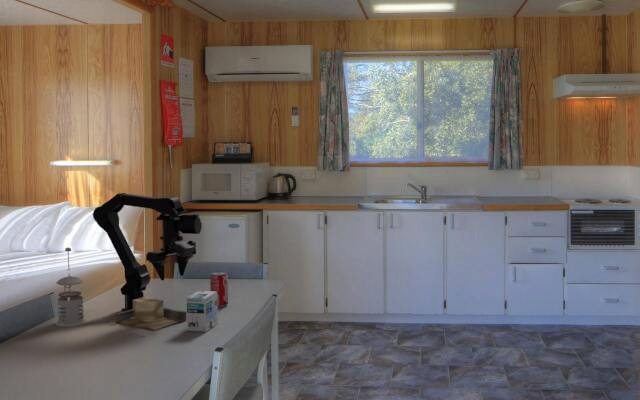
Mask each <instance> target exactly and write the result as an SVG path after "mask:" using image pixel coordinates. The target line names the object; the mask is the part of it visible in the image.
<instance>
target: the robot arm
mask: <svg viewBox="0 0 640 400" xmlns="http://www.w3.org/2000/svg"><path fill="white" fill-rule="evenodd" d="M124 206H129V207H136V208H142V209H151V210H154V211H155V212H157V213H160V214H159V215H158V217H156V219H155V220H156V221H161V222H162V223H161V225H162V227H161V229H162V235H161V236H160V237H159V240H162V247H160V251H159V250H153V251H149V252H147V253H146V254H145V260H146V261H147V262H149V263H150V264H151V265H152V266H153V267H154V270H155V271H156V273H157V275H158V277H159V278H160V280H161V281H165V271H166V269H165V266H166V264H167V263H168V261H167V258H168V257H173V256H176V261H177V266H178V267H177V268H178V272H179V275H180V277H181V276H183V277H184V275H185V271H186V268H187V264H188V263H189V260H191V258H193V257H194V255H197V249H196V248H197V244H196V241H195V240H188V241H184V237H183V235H186V234H187V235H188V234H189V235H199V234H201V231H202V229H203V227H202V225H203V224H202V222H201V218H200V216H199V213H193V214H192V213H191V214H188V212H187V210H186V209H185V208H184V206H183V205H182V202H181V200H180V199H179V197H177V196H175V195H174V196H161V197H160V196H158V197H152V196H148V195H147V196H146V195H145V196H144V195H138V194H132V193H127V192H120V193H116V194H114V196H113V197H112V198H110V199H108V200H107V201H105V202H104V203H103V204H102V205H101V206H97V207H95V208H94V210H93V213H92V217H93V220H94V221H95V223H96V224H97V225H98V227H100V228H101V229H102V230H104V232H105V233H106V234H107V236H108V238H109V241H110V242H111V244H112V246H113V248H114V250H115V252H116V254H117V256H118V258H119V260H120V262H121V264H122V266H123V268H124V279H125V284H124V285H123V286H122V287H121V288H120V290H119V291H120V293H121V295H122V296H124V307H122V308H121V311H123V312H124V311H128V310H131V309H133V300H135V299H138V298H142V297H145V296H144V291H146V290H147V286H149V284H150V283H151V282H150V281H151V276H150V275H151V272H150V271H149V270H148V267H147V265H146V264H145V263H144V264H142V265H141V263H140V262H138V261H137V259H136V257H135V254H134V253H133V250H132V249H131V247H130V245H129V243H128V241H127V239H126V237H125V235H124V233H123V231H122V229H121V227H120V217H119V213H120V212H121V211H122V210H123V208H124ZM180 232H181V234H183V235H180Z"/></svg>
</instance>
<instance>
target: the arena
mask: <svg viewBox="0 0 640 400" xmlns="http://www.w3.org/2000/svg"><path fill="white" fill-rule="evenodd" d="M163 311H164V318H162V319H159V320H156V321H148V320H142V319H137V318H133V309H131V310H128V311H124V310H123V311H122V312H117V313H115V323H116V324H121V325H125V326H131V327H135V328H138V329H139V328H141V329H144V330H149V331H155V332H156V331H159V330H162V329H165V328H168V327H170V326H169V325H171V326H174V325H177V323H178V324H181V323H183V321H184V322H187V321H186V320H187V311H185V310H179V309H174V308H168V307H163ZM180 322H181V323H180ZM173 324H174V325H173ZM167 326H168V327H167ZM164 327H165V328H164ZM161 328H162V329H161Z"/></svg>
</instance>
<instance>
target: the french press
mask: <svg viewBox="0 0 640 400" xmlns="http://www.w3.org/2000/svg"><path fill="white" fill-rule="evenodd" d="M64 251H65V252H67V263H68V264H67V265H68V266H67V267H68V270H70V262H69V261H70V256H69V255H70V254H69V253H70V252H71V251H72V248H71V247H66V248H65V249H64ZM83 281H84V280H83V279H81V278H79V277H76V276H70V274H68V276H66V277H63V278H60V279H59V280H57V281H56V284H57V285H58V286H63V288H64V289H63V292H59V293H58V298H57V318H58V319H57V321H56V322H55V326H57V327H67V328H68V327H75V326H77V327H78V326H81V325H83V324H85V323H87V319H86V318H84V317H85V316H84V299H83V296H81V294H82V292H81V291H79V290H78V291H77V290H76V291H75V290H71V287H72V286H74V285H79V284H82V283H83ZM66 289H69V291H68V290H67V291H66ZM68 298H69V300H68Z"/></svg>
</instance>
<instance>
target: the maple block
mask: <svg viewBox="0 0 640 400" xmlns="http://www.w3.org/2000/svg"><path fill="white" fill-rule="evenodd" d="M163 308H164V299H157V298H152V297H147V296H144V297H142V298H138V299H135V300H133V318H137V319H142V320H148V321H156V320H159V319H162V318H164V311H163Z"/></svg>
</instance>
